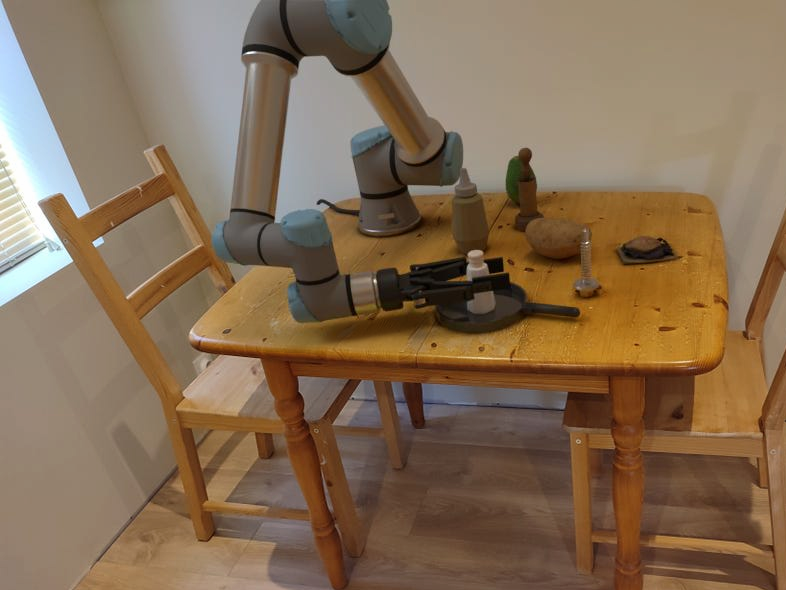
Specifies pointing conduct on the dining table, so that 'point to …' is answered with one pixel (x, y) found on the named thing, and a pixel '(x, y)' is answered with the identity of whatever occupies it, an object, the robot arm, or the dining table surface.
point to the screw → (586, 269)
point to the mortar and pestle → (526, 193)
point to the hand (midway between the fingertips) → (506, 272)
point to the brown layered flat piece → (645, 250)
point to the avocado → (515, 178)
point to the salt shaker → (477, 269)
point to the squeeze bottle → (468, 216)
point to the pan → (500, 317)
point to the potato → (555, 237)
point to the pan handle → (550, 309)
